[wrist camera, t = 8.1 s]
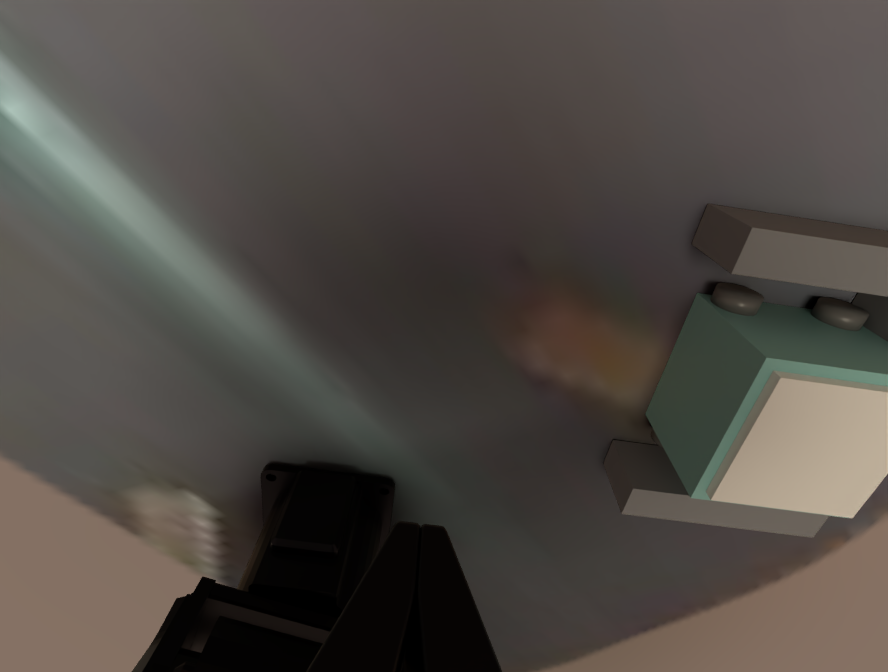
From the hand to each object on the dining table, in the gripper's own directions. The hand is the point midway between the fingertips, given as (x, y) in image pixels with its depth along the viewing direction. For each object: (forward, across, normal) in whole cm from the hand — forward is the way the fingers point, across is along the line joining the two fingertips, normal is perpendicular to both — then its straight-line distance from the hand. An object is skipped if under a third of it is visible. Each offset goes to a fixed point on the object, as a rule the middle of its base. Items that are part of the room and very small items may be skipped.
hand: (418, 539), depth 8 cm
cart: (+12, -13, +2) cm, 18 cm away
